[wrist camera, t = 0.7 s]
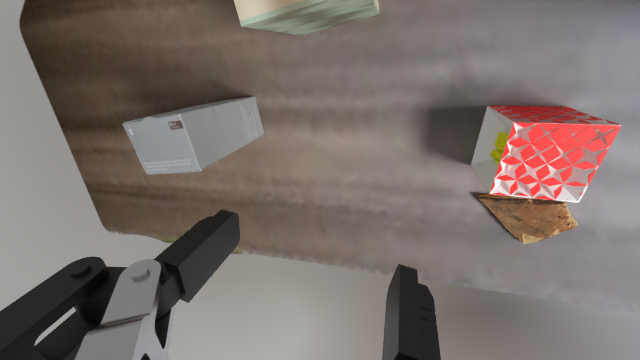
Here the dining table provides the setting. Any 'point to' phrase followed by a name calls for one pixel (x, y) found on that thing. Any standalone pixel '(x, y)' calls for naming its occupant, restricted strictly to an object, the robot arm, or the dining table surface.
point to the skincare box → (194, 135)
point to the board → (302, 14)
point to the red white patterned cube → (540, 151)
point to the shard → (530, 216)
